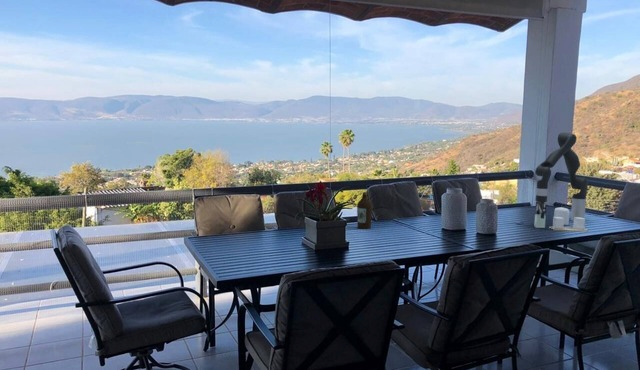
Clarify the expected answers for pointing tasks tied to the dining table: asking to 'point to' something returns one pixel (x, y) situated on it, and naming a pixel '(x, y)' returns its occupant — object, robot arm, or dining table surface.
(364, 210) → the olive oil
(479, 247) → the dining table surface
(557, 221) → the mounted modules
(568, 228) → the metal rail
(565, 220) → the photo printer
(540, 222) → the loose module
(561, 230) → the rail board
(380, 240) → the dining table surface
